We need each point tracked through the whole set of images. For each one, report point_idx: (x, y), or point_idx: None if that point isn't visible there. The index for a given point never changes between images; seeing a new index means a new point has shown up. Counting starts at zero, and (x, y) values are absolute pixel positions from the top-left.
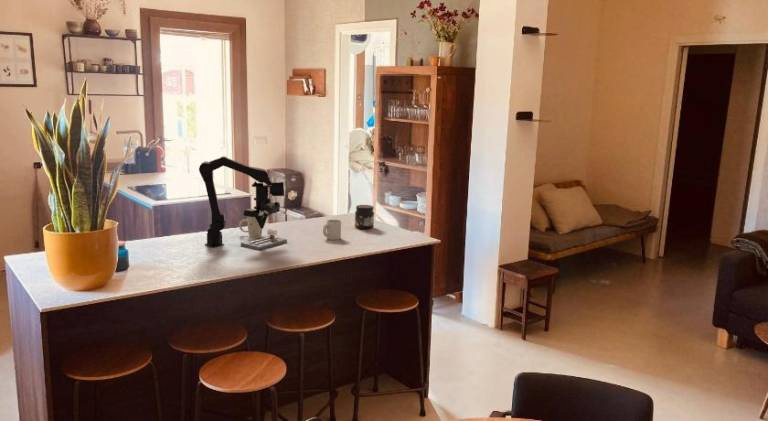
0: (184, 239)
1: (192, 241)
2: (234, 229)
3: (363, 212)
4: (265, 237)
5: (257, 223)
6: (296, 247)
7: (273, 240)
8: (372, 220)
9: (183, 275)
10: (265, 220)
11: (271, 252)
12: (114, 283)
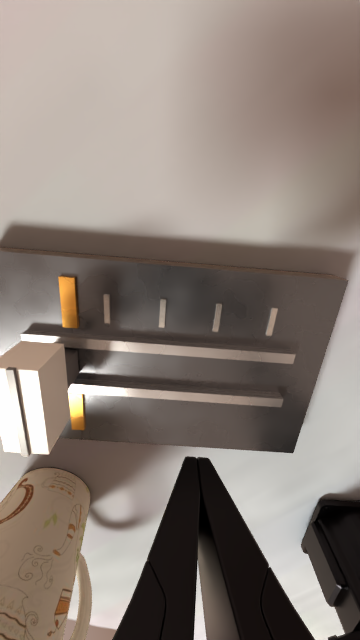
0: (310, 630)
1: (324, 603)
2: None
3: None
4: (80, 413)
5: (20, 593)
6: (51, 27)
7: (95, 322)
8: None
9: None
10: (158, 594)
11: (350, 139)
12: None
